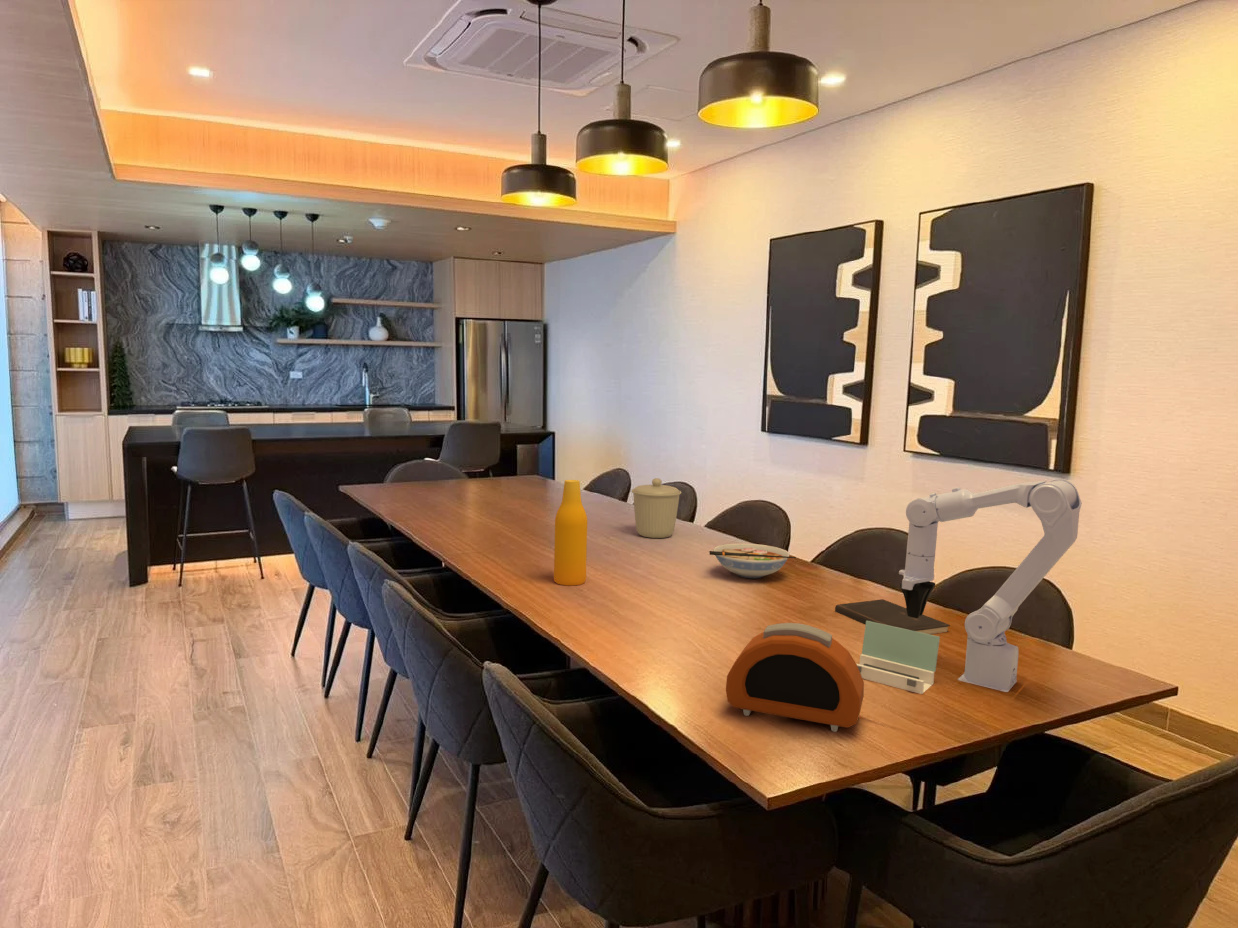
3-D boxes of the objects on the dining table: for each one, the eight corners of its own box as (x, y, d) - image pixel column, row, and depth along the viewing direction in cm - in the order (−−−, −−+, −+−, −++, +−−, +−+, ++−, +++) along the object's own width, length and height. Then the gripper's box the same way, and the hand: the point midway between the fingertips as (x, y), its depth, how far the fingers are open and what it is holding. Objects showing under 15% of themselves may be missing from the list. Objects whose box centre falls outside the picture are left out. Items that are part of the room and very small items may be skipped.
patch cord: (918, 684, 164) (919, 675, 164) (915, 687, 163) (916, 678, 162) (865, 670, 171) (865, 662, 170) (861, 673, 169) (862, 664, 169)
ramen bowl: (788, 568, 258) (789, 542, 257) (796, 588, 235) (798, 559, 234) (707, 564, 260) (709, 538, 259) (708, 583, 238) (709, 555, 237)
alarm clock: (723, 713, 149) (727, 624, 147) (734, 695, 158) (739, 610, 156) (857, 737, 141) (864, 643, 139) (862, 717, 149) (868, 627, 147)
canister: (626, 539, 294) (628, 480, 291) (634, 529, 311) (635, 473, 309) (677, 542, 291) (679, 483, 288) (681, 532, 309) (684, 476, 306)
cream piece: (933, 686, 165) (934, 671, 164) (920, 697, 159) (921, 682, 158) (860, 667, 174) (861, 653, 174) (846, 677, 168) (847, 663, 168)
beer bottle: (566, 587, 228) (569, 484, 225) (547, 580, 235) (548, 479, 232) (592, 582, 234) (595, 481, 231) (572, 575, 241) (574, 477, 238)
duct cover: (934, 671, 165) (935, 671, 165) (939, 636, 165) (939, 636, 165) (861, 653, 174) (862, 653, 174) (866, 620, 174) (867, 620, 174)
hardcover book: (882, 607, 221) (882, 599, 220) (949, 634, 200) (950, 624, 200) (834, 613, 214) (835, 604, 214) (898, 641, 193) (899, 631, 193)
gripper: (913, 544, 183) (907, 604, 185) (889, 555, 172) (884, 619, 173) (946, 550, 179) (940, 611, 180) (924, 562, 167) (918, 626, 169)
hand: (914, 615), depth 177 cm, fingers closed
